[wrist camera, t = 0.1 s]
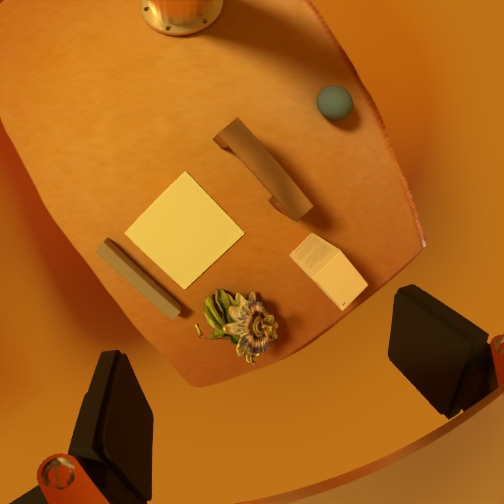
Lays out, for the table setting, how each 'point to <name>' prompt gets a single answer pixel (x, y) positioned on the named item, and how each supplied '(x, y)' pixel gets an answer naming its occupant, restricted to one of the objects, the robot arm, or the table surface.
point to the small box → (329, 270)
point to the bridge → (265, 169)
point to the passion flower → (241, 323)
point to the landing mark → (184, 231)
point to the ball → (334, 102)
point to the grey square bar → (138, 279)
